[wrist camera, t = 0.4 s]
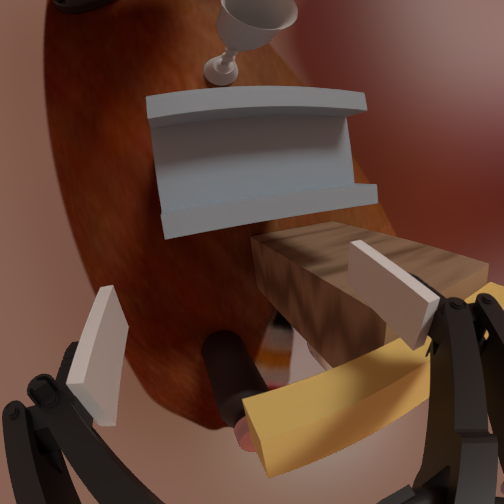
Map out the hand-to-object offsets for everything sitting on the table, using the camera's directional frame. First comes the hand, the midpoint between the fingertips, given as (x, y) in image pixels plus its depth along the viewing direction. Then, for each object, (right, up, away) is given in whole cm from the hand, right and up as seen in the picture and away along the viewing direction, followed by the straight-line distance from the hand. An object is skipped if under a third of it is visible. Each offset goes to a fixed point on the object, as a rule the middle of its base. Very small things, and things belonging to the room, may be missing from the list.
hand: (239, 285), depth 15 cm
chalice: (-4, +28, +20) cm, 34 cm away
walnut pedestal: (+7, +1, +29) cm, 30 cm away
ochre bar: (+12, -5, +2) cm, 13 cm away
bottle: (-4, -14, +29) cm, 32 cm away
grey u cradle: (-4, +13, +23) cm, 26 cm away
